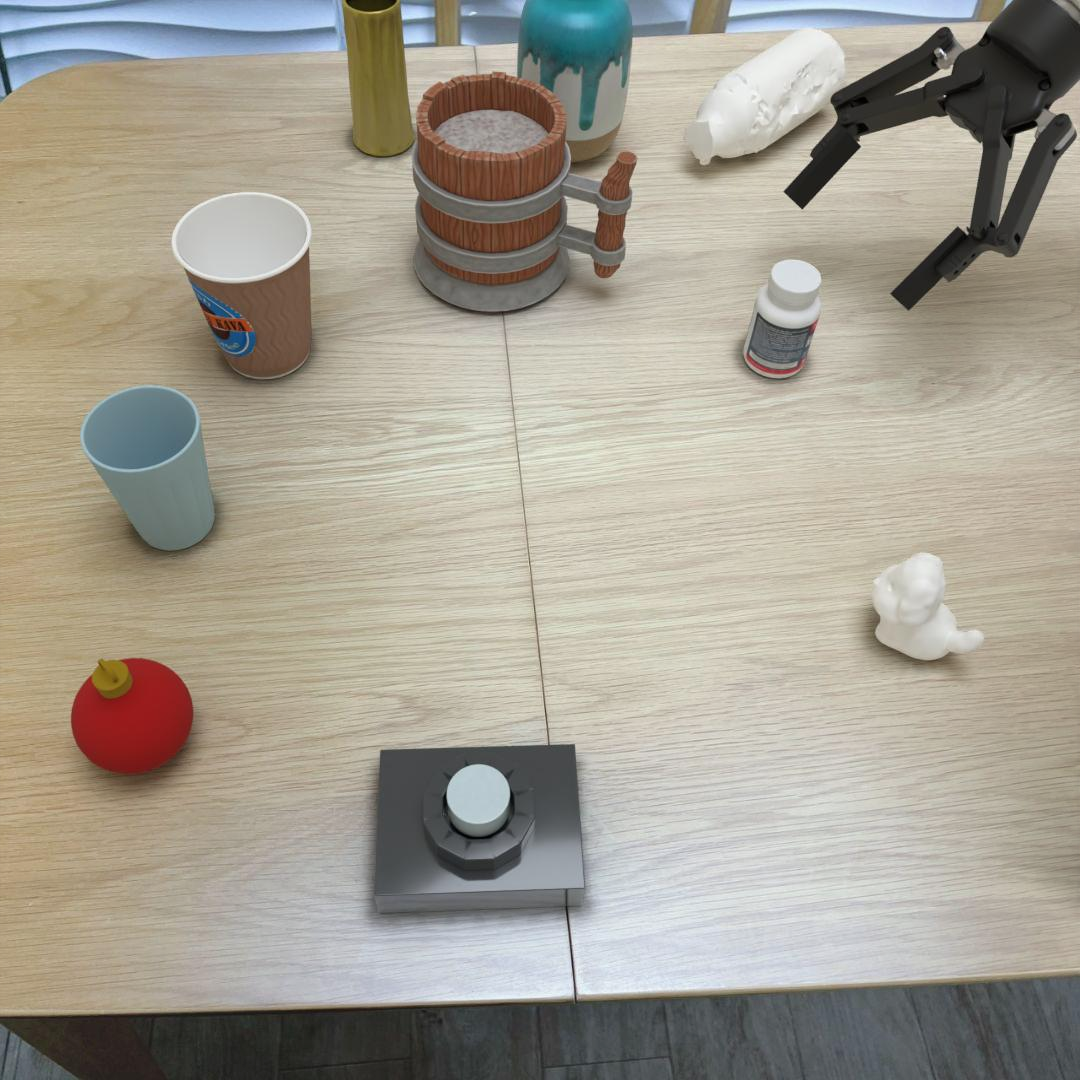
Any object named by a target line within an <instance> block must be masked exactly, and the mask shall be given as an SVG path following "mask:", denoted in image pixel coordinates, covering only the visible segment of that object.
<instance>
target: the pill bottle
mask: <svg viewBox="0 0 1080 1080" xmlns="http://www.w3.org/2000/svg"><path fill="white" fill-rule="evenodd" d="M821 275H822V274H821V273H820V271H819V270H818V269H817V268H816V267H815V266H814V265H812V263H811V264H810V263H809V262H807V261H804V260H801V259H800V260H799V259H784V260H781V261H779V262H777V263H775V264H774V265H773V267H772V268H771V270H770V274H769V277H768V279H767V283H765V285H763V286H762V287H761V288H760V289H759V291H758V293H757V295H756V298H755V301H754V305H753V311H752V314H751V318H750V323H749V326H748V330H747V334H746V337H745V340H744V345H743V350H742V354H743V358H744V361H745V363H746V364H747V366H748V367H749V368H750V369H751V370H753V371H754V372H755V373H756V374H758V375H761V376H764V377H766V378H771V379H786V378H789V377H792V376H794V375H796V374H797V373H799V372H800V371H801V370H802V369H803V367H804V365H805V363H806V360H807V357H808V353H809V350H810V347H811V343H812V340H813V337H814V334H815V331H816V328H817V324H818V322H819V319H820V315H821V311H822V303H821V302H822V301H821V299H820V297H819V294H820V293H819V292H820V288H821V285H822V276H821Z"/></svg>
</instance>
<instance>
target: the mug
mask: <svg viewBox="0 0 1080 1080" xmlns="http://www.w3.org/2000/svg"><path fill="white" fill-rule="evenodd" d="M415 122H416V137H417V138H416V140H415V142H413V146H412V150H411V164H412V165H411V166H412V180H413V183H414V186H415V188H416V191H417V192H418V195H417V197H416V199H415V200H416V202H415V204H414V205H415V206H414V209H415V219H416V220H415V222H416V223H415V224H416V232H417V235H418V238H419V240H418V241H417V243H416V245H415V246H414V252H413V256H412V257H413V268H414V270H415V272H416V275H417V277H418V279H419V281H421V284H423V285H424V287H425V288H427V289H428V290H429V291H430V292H431V293H432V294H433V295H435V296H436V297H438V298H440V299H441V300H443V301H445V302H447V303H448V304H451V305H454V306H457V307H459V308H462V309H466V310H470V311H475V312H484V313H505V312H511V311H514V310H520V309H523V308H525V307H528V306H531V305H534V304H536V303H538V302H540V301H542V300H544V299H545V298H547V297H548V296H550V295H551V294H552V293H553V292H555V291H557V289H559V287H560V285H561V284H562V283H563V282H564V280H565V279H566V276H567V275H568V271H569V269H570V260H571V259H570V258H571V257H570V254H569V250H571V251H575V252H578V253H582V254H585V255H589V256H591V258H592V260H593V269H594V273H595V274H594V275H596V277H598V278H600V279H605V280H606V279H609V278H611V277H612V276H613V275H614V274H615V273H616V272H617V271H618V270H619V268H620V267H621V264H622V262H623V261H624V260H625V258H626V257H625V256H626V248H627V247H626V246H627V242H626V239H625V237H624V234H625V233H624V232H625V230H626V229H625V228H626V220H627V219H626V217H627V214H628V211H630V209H631V206H632V200H633V189H632V187H631V186H630V181H631V179H632V176H633V174H634V170H635V168H636V166H637V162H638V157H637V155H636V154H635V153H634V152H632V151H628V150H624V151H620V152H618V153H617V155H616V160H615V161H614V163H612V165H611V166H610V167H609V168H608V169H607V174H606V175H605V176H604V177H603V178H602V179H601V181H600V180H596V179H593V178H588V177H586V176H582V175H578V174H574V173H571V163H572V162H571V154H570V150H569V147H568V145H567V143H566V141H565V139H566V125H567V116H566V112H565V109H564V107H563V105H562V103H561V102H560V100H559V99H558V98H557V97H556V96H555V95H554V94H553V93H552V92H551V91H550V90H548V89H547V88H545V87H544V86H542V85H540V84H537V83H535V82H532V81H529V80H526V79H523V78H520V77H517V76H515V75H514V76H513V75H510V74H507V72H506V71H497V70H496V71H494V70H492V71H491V73H478V74H471V75H465V74H461V75H458V76H454V77H451V78H450V80H448V81H447V80H446V81H445V82H442V81H438V82H436V83H435V84H434V85H432V86H430V87H429V88H428V89H427V90H426V91H424V93H423V94H422V98H421V100H420V102H419V104H418V105H417V109H416V112H415ZM566 197H567V198H569V199H573V200H577V201H580V202H584V203H588V204H593V205H595V206H596V208H597V209H598V211H597V218H598V220H597V223H596V228H595V231H591V230H588V229H585V228H580V227H577V226H573V225H569V224H567V223H568V210H569V209H568V203H567V199H566Z"/></svg>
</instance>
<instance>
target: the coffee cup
mask: <svg viewBox="0 0 1080 1080" xmlns="http://www.w3.org/2000/svg"><path fill="white" fill-rule="evenodd" d="M171 235H172V236H171V250H172V251H171V252H172V254H173V256H174V258H175V259H176V261H177V262H178V263H179V264H180V265H181V266H182V267H183V270H184V272H185V274H186V276H187V279H188V282H189V284H190V285H191V288H192V290H193V292H194V293H193V294H194V295H195V297H196V299H197V301H198V303H199V306H200V308H201V310H202V313H203V315H204V318H205V320H206V322H207V324H208V327H209V328H210V331H211V333H212V335H213V338H214V339H215V341H216V343H217V344H218V347H219V349H220V352H221V354H222V355H223V357H224V358H225V359H226V361H227V363H228V364H229V366H230V367H231V368H232V369H233V371H235V372H237V373H238V374H240V375H241V376H244V377H245V378H249V379H253V380H272V379H273V380H274V379H279V378H282V377H284V376H288V375H289V374H291V373H293V372H295V371H296V370H298V369H299V368H300V367H301V366H302V365H303V364H305V363H306V360H307V359H308V357H309V355H310V352H311V344H312V343H311V341H312V340H313V339H312V338H313V337H312V336H313V335H312V333H313V332H312V302H311V300H312V299H311V298H312V297H311V265H310V263H311V261H310V259H311V258H310V244H311V242H312V238H313V237H312V236H313V228H312V224H311V222H310V219H309V217H308V215H307V214H306V213H305V212H304V211H303V210H302V208H300V207H299V206H298V204H295V203H294V202H292V201H290V200H288V199H287V198H285V197H282V196H279V195H276V194H271V193H267V192H260V191H259V192H258V191H242V192H233V193H226V194H222V195H219V196H216V197H213V198H210V199H207V200H205V201H203V202H201V203H199V204H197V205H196V206H194V207H193V208H191V209H190V210H188V211H187V212H186V213H185V214H184V215H183V216H182V217H181V218H180V219H179V220H178V222H177V223H176V225H175V227H174V228H173V232H172V234H171Z"/></svg>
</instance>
